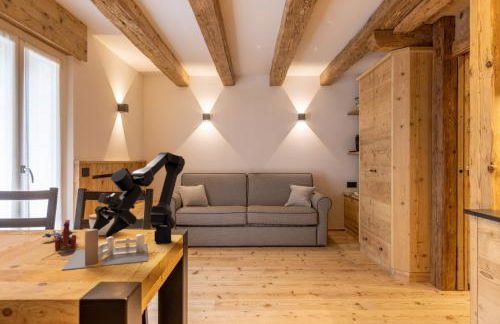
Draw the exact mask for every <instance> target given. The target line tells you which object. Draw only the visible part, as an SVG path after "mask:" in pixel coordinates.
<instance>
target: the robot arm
mask: <svg viewBox="0 0 500 324" xmlns="http://www.w3.org/2000/svg"><path fill="white" fill-rule="evenodd" d="M185 164H186V161H185V158H184V156H181V155H176V154H173V153H171V152H169V151H163V152H162V151H161V152H159V153H158V154H157V155H156V156H155V157H154V159H152V160H151V161H150V162H149V163H148V164H147V165H145V167H142V168H138V169H136V170H134V171H132V172H130V171H129V168H128V167H121V168H120V169H119V170H117V171H115V172H114V173H112V175H111V176H110V179H111V181H112V182H113V184H114V185H115V186H116V187H117V188H118V190H119V191H121V192H122V194H121V195H120V194H119V193H117V192H116V193H115V192H113V193H112V194H109V193H100V196H99V197H98V201H97V202H98V203H100V204H103V205H97V206H96V207H95V208H94V211H95V212H94V214H96V216H97V218H96V221H95V224H94V226H93V228H92V229H98V231H99V230H100V229H101V228H103V227H104V226H106V225H107V224H108V223H110V220H112V219H113V218H114V222H113V224H112V225H111V227H110V228H109V230H108V231H107V233H106V235H104V237H105V238H106V239H107V238H108V237H113V235H115V234H117V233H118V232H121V231H123V230H124V229H127V228H130V227H131V226H134V225H136V223H137V221H138V220H137V218H138V217H137V216H136V215H135V214H134V213H132V211H130V210H131V209H132V210H133V209H135V208H136V206H135V204H136V202H137V201H138V200H139V199H140V197H142V198H144V199H145V198H146V197H147V195H146V190H145V189H142V187H143V188H144V187H149V186H150V185H152V183H153V182H154V180H155V175H156V174H157V173H158V172H159V171H160V170H161V169H162V168H163V167H164V170H165V172H166V174H165V177H164V181H163V185H162V188H161V192H160V195H159V200H158V203H157V204H156V205H152V207H151V211H150V214H149V215H150V216H149V221H150V226H151V228H153V229H155V230H154V232H153V233H154V234H153V236H154V237H153V239H154V242H155V244H157V245H160V244H161V245H162V244H170V243H173V241H172V229H174V228H175V227H176V221H175V220H174V218H173V217H172V214H173V212H172V207H171V203H172V199H173V196H174V195H173V194H174V191H175V187H176V182H177V179H178V177H179V175H180V174H181V173H182V172H183V170H184V167H185Z"/></svg>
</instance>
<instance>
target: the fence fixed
mask: <svg viewBox="0 0 500 324" xmlns="http://www.w3.org/2000/svg"><path fill="white" fill-rule="evenodd" d="M114 239H115V238H114V236H110V237H108V238H106V242H109V246H106V247H107V249H109V253H107V255H113V254H114V247H115V246H114V245H119V244H120V245H121V244H125V245H122V246H123V247H115V251H122V250H126V252H129V250H132V249H136V252H144V244H145V234H143V233H139V234H136V235H135V238H130V237H125V239H116V240H114ZM114 242H115V243H114ZM131 243H135V244H133V245H134V246H129V245H130V244H131Z"/></svg>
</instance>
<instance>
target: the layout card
mask: <svg viewBox="0 0 500 324" xmlns="http://www.w3.org/2000/svg"><path fill="white" fill-rule="evenodd" d="M134 245H135V244H129V246H134ZM123 246H124V245H116V246H114V254H113V255H107V254H105V255H103V258H101V259H98V263H97V264H93V265H85V248H82V249H81V248H80V249H75V251H74V252H73V253H72V254H71V256H70V258H69V259H68V260H67V262H66V263H65V264H64V265H63V267H62V269H61V271H68V270H79V269H80V270H81V269H89V268H90V269H91V268H97V267H107V266H117V265H127V264H134V263H135V264H136V263H137V264H139V263H143V262H144V263H146V262H148V261H149V257H148V245H147V243H144V252H136V249H132V250H129V252H126V250H122V251H115V247H123ZM106 249H107V246H106V247H104V248H103V250H106Z"/></svg>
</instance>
